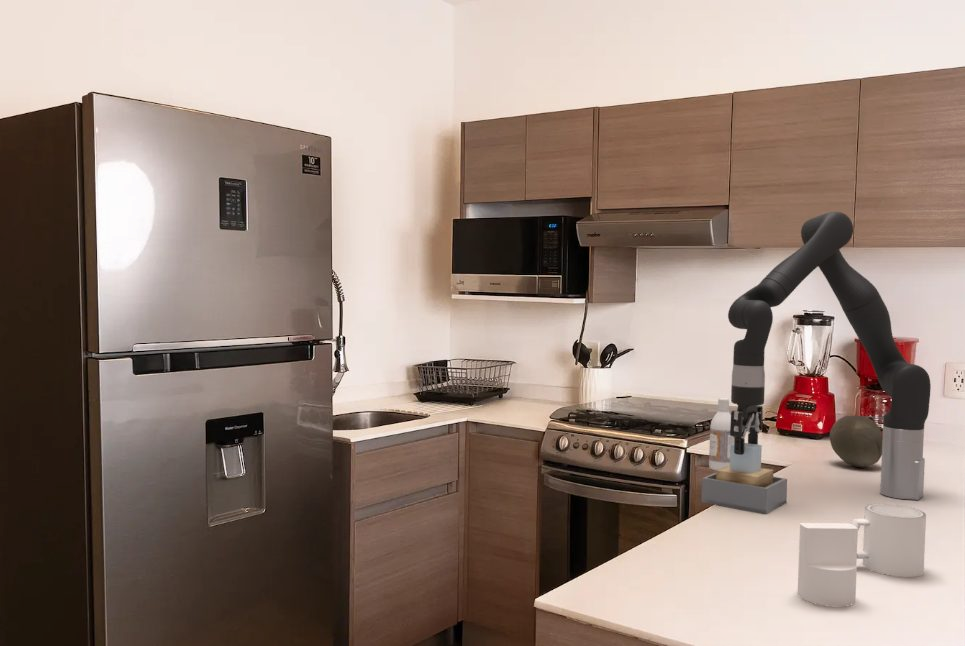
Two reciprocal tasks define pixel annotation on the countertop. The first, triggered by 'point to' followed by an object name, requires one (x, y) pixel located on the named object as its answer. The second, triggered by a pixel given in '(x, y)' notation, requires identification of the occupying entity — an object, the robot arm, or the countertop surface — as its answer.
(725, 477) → the oak block
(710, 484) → the tote
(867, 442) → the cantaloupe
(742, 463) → the light blue cube
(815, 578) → the base with upright slab
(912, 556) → the mug
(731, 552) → the countertop surface
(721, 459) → the bath foam
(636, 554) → the countertop surface
